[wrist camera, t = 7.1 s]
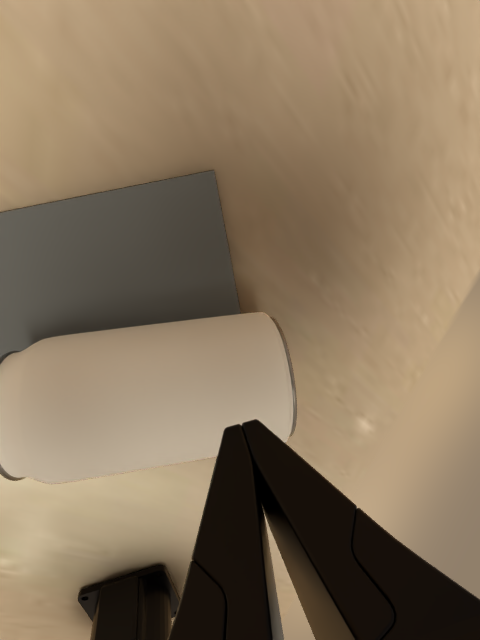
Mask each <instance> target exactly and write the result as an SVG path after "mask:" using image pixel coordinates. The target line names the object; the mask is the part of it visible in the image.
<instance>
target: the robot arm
mask: <svg viewBox="0 0 480 640" xmlns="http://www.w3.org/2000/svg"><path fill="white" fill-rule="evenodd" d="M263 510H264V512H263ZM264 513H265V516H266V519H267V521H268V524H269V527H270V529H271V532H272V534H273V536H274V539H275V541H276V544H277V546H278V549H279V551H280V554H281V556H282V558H283V561H284V563H285V566H286V568H287V571H288V573H289V576H290V578H291V580H292V583H293V585H294V588H295V590H296V593H297V595H298V598H299V600H300V602H301V605H302V607H303V610H304V612H305V615H306V617H307V620H308V622H309V624H310V627H311V629H312V632H313V634H314V637H315V639H316V640H480V599H478V598H477V597H476V596H474V595H473V594H471V593H470V592H469V591H467V590H466V589H464V588H463V587H462V586H460V585H459V584H457V583H456V582H454V581H453V580H451V579H450V578H449V577H447V576H446V575H445V574H443V573H442V572H440V571H439V570H438V569H436V568H435V567H433V566H432V565H431V564H429V563H428V562H426V561H425V560H423V559H422V558H421V557H419V556H418V555H417V554H415V553H414V552H413V551H411V550H410V549H409V548H407V547H406V546H405V545H403V544H402V543H401V542H399V541H398V540H397V539H395V538H394V537H393V536H392V535H390V534H389V533H388V532H387V531H386V530H384V529H383V528H382V527H381V526H380V525H378V524H377V523H376V522H375V521H374V520H372V519H371V518H370V517H369V516H368V515H367V514H366V513H364V512H363V511H362V510H361V509H360V508H357V506H356V505H355V504H354V503H353V502H352V501H351V500H349V499H348V498H347V497H346V496H345V495H344V494H343V493H341V492H340V491H339V490H338V489H337V488H336V487H335V486H333V485H332V484H331V483H330V482H329V481H328V480H327V479H325V478H324V477H323V476H322V475H321V474H320V473H319V472H317V471H316V470H315V469H314V468H313V467H312V466H311V465H309V464H308V463H307V462H306V461H305V460H304V459H303V458H301V457H300V456H299V455H298V454H297V453H296V452H295V451H293V450H292V449H291V448H290V447H289V446H288V445H287V444H285V443H284V442H283V441H282V440H281V439H280V438H279V437H277V436H276V435H275V434H274V433H273V432H272V431H271V430H269V429H268V428H267V427H266V426H265V425H264V424H263V423H261V422H260V421H259V420H257V419H254V420H250V421H247V422H243V423H242V426H241V425H240V424H236V425H232V426H229V427H226V428H225V429H224V431H223V435H222V439H221V443H220V447H219V451H218V455H217V459H216V463H215V467H214V471H213V475H212V479H211V483H210V487H209V491H208V495H207V499H206V503H205V507H204V511H203V515H202V519H201V523H200V527H199V531H198V535H197V538H196V542H195V546H194V550H193V554H192V561H191V562H190V565H189V569H188V573H187V577H186V581H185V585H184V588H183V592H182V595H181V599H180V598H179V596H178V594H177V591H176V589H175V587H174V585H173V582H172V580H171V578H170V576H169V574H168V571H167V569H166V567H165V566H163V565H157V566H154V567H151V568H148V569H145V570H142V571H139V572H135V573H132V574H129V575H126V576H123V577H120V578H117V579H113V580H110V581H107V582H104V583H101V584H98V585H94V586H91V587H88V588H85V589H82V590H81V591H80V592H79V595H78V601H79V603H80V604H81V606H82V607H83V609H84V610H85V611H86V613H87V614H88V616H89V617H90V619H91V620H92V622H93V625H92V632H91V639H90V640H284V637H283V630H282V624H281V617H280V611H279V604H278V598H277V592H276V585H275V579H274V572H273V566H272V559H271V553H270V547H269V540H268V534H267V527H266V522H265V516H264ZM173 617H175V619H174V622H173V625H172V621H171V618H173Z"/></svg>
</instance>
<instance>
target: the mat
mask: <svg viewBox="0 0 480 640" xmlns="http://www.w3.org/2000/svg"><path fill="white" fill-rule="evenodd" d="M236 314H241V312H240V306H239V301H238V296H237V290H236V285H235V280H234V274H233V269H232V263H231V258H230V253H229V247H228V242H227V237H226V231H225V226H224V221H223V215H222V210H221V205H220V199H219V194H218V189H217V183H216V178H215V172H214V170H211V171H206V172H201V173H196V174H191V175H186V176H181V177H176V178H171V179H166V180H161V181H156V182H151V183H145V184H140V185H135V186H130V187H125V188H120V189H115V190H110V191H105V192H100V193H95V194H90V195H85V196H80V197H75V198H70V199H65V200H60V201H55V202H50V203H45V204H40V205H35V206H30V207H25V208H20V209H14V210H9V211H4V212H0V357H1V356H3V355H4V354H5V353H7V352H10V351H20V352H21V351H23V350H25V349H26V348H28V347H29V346H31V345H33V344H34V343H36V342H38V341H40V340H42V339H46V338H50V337H56V336H63V335H70V334H78V333H86V332H94V331H102V330H110V329H118V328H126V327H135V326H143V325H151V324H159V323H168V322H176V321H184V320H193V319H201V318H210V317H218V316H227V315H236Z"/></svg>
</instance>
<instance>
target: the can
mask: <svg viewBox="0 0 480 640" xmlns="http://www.w3.org/2000/svg"><path fill="white" fill-rule="evenodd" d="M254 419H257V420H259V421H260V422H261V423H263V424H264V425H265V426H266V427H267V428H268V429H269V430H271V431H272V432H273V433H274V434H275V435H276V436H277V437H279V438H280V439H281V440H282V441H283V442H284V443H286V441H287V440H288V437H290V436H292V435H293V433H294V430H295V426H296V419H297V400H296V388H295V380H294V374H293V368H292V363H291V358H290V354H289V350H288V346H287V343H286V340H285V337H284V334H283V332H282V330H281V328H280V326H279V324H278V323H277V321H276V320H275V319H274V318H273V317H269V316H268V315H267V314H266V313H264V312H254V313H245V314H236V315H227V316H218V317H210V318H201V319H193V320H184V321H176V322H168V323H159V324H151V325H143V326H135V327H126V328H118V329H110V330H102V331H94V332H86V333H78V334H70V335H63V336H56V337H50V338H46V339H42V340H40V341H38V342H36V343H34V344H33V345H31V346H29V347H28V348H26V349H25V350H23V351H21V352H20V351H10V352H7V353H5V354H4V355H3V356H1V357H0V474H1V475H2V476H3V477H5V478H6V479H9V480H12V481H18V480H22V479H24V478H26V477H27V478H31V479H34V480H37V481H40V482H44V483H48V484H60V483H67V482H74V481H80V480H86V479H92V478H98V477H104V476H109V475H115V474H121V473H127V472H133V471H139V470H144V469H150V468H156V467H162V466H167V465H173V464H179V463H185V462H190V461H196V460H202V459H207V458H213V457H217V455H218V451H219V447H220V443H221V439H222V435H223V431H224V429H225V428H226V427H229V426H232V425H236V424H240V425H241V426H242V423H243V422H247V421H250V420H254Z"/></svg>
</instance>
